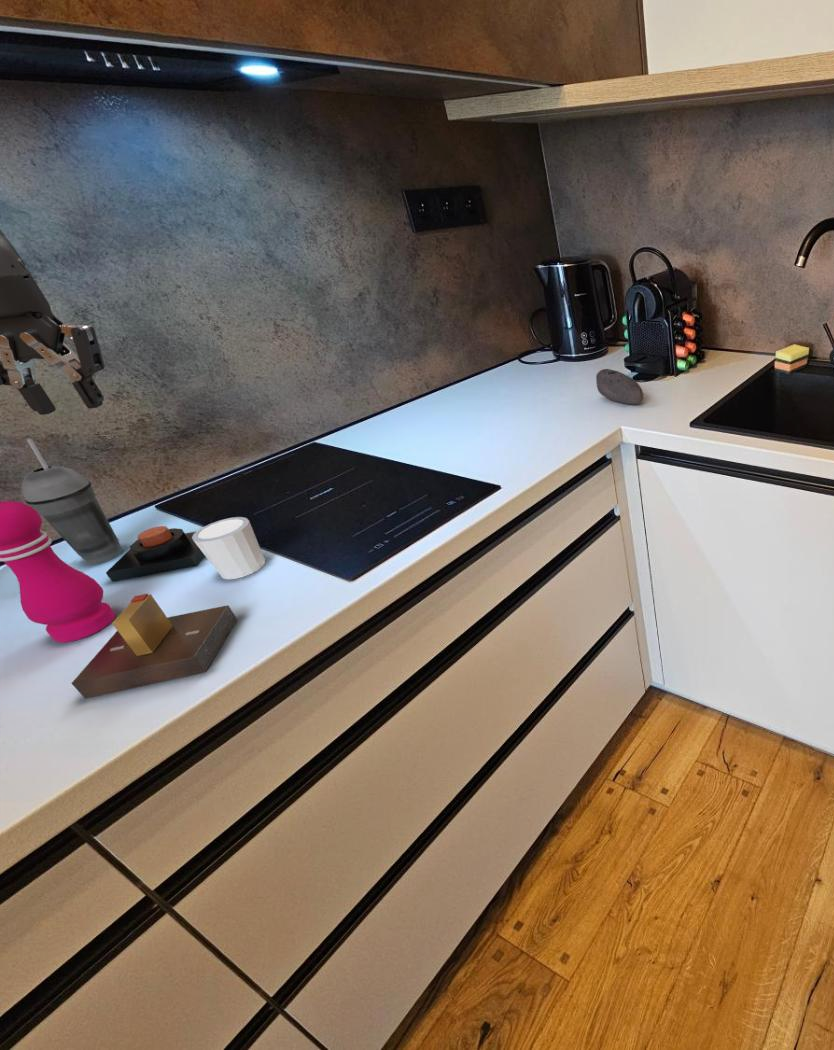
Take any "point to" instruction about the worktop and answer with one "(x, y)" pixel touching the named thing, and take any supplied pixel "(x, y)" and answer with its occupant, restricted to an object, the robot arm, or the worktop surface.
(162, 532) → the button
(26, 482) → the beverage cup
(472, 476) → the worktop surface
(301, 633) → the worktop surface
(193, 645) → the plate
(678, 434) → the worktop surface
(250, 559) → the white cup
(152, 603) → the lock knob
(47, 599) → the pepper mill
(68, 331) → the robot arm
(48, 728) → the worktop surface
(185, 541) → the block
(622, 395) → the perforated stone tool
